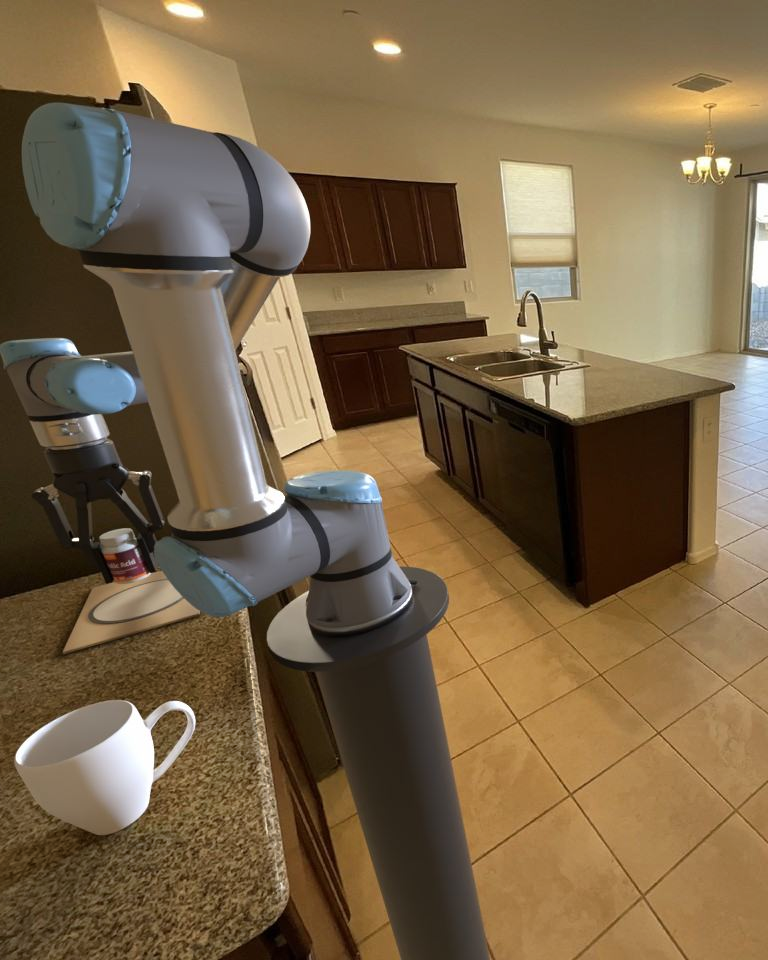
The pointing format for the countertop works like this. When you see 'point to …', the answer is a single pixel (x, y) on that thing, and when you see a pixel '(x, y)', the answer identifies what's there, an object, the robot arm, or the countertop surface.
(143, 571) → the pill bottle
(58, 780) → the mug
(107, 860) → the countertop surface
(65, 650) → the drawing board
